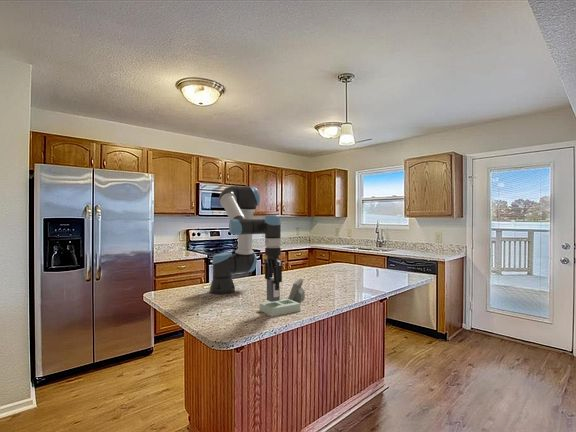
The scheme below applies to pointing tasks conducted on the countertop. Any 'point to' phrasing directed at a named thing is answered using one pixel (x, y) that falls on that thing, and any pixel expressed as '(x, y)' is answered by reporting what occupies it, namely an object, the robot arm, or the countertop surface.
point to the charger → (271, 291)
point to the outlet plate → (279, 307)
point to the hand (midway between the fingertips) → (273, 295)
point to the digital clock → (297, 291)
